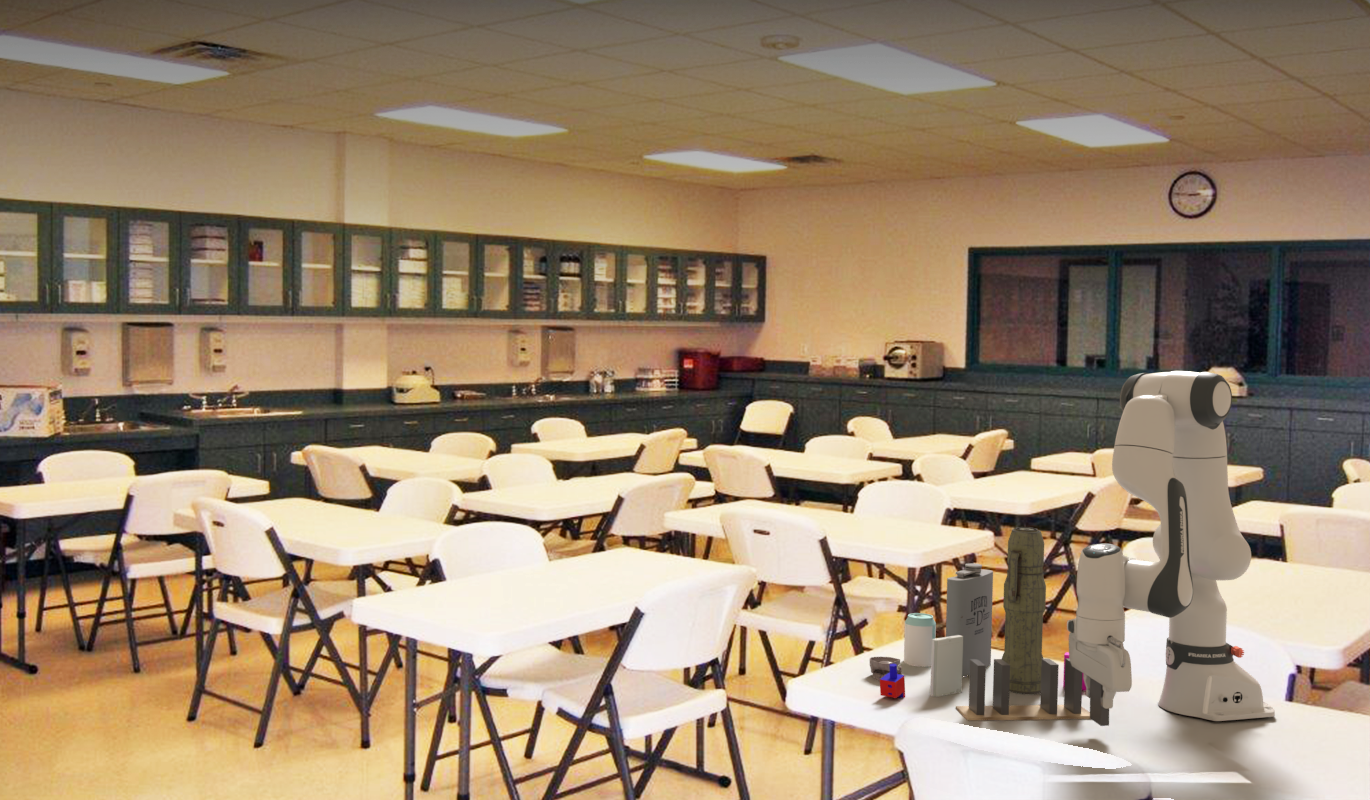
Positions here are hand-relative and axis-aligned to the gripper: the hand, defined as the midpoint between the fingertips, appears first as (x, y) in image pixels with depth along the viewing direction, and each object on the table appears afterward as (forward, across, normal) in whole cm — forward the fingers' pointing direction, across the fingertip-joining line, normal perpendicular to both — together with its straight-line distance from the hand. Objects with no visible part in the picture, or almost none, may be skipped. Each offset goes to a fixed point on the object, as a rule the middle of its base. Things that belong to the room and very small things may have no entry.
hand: (1099, 702), depth 247 cm
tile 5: (+6, +16, -2) cm, 17 cm away
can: (+7, +54, +19) cm, 58 cm away
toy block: (+8, +40, -14) cm, 43 cm away
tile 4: (+6, +16, +4) cm, 18 cm away
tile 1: (+6, +16, +18) cm, 25 cm away
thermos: (+7, +34, +2) cm, 35 cm away
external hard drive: (+7, +30, +20) cm, 37 cm away
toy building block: (+6, +27, +33) cm, 43 cm away
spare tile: (+4, 0, 0) cm, 4 cm away
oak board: (+7, +16, +8) cm, 19 cm away
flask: (+7, +48, +9) cm, 50 cm away
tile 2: (+6, +16, +14) cm, 22 cm away
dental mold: (+6, +42, +30) cm, 52 cm away
